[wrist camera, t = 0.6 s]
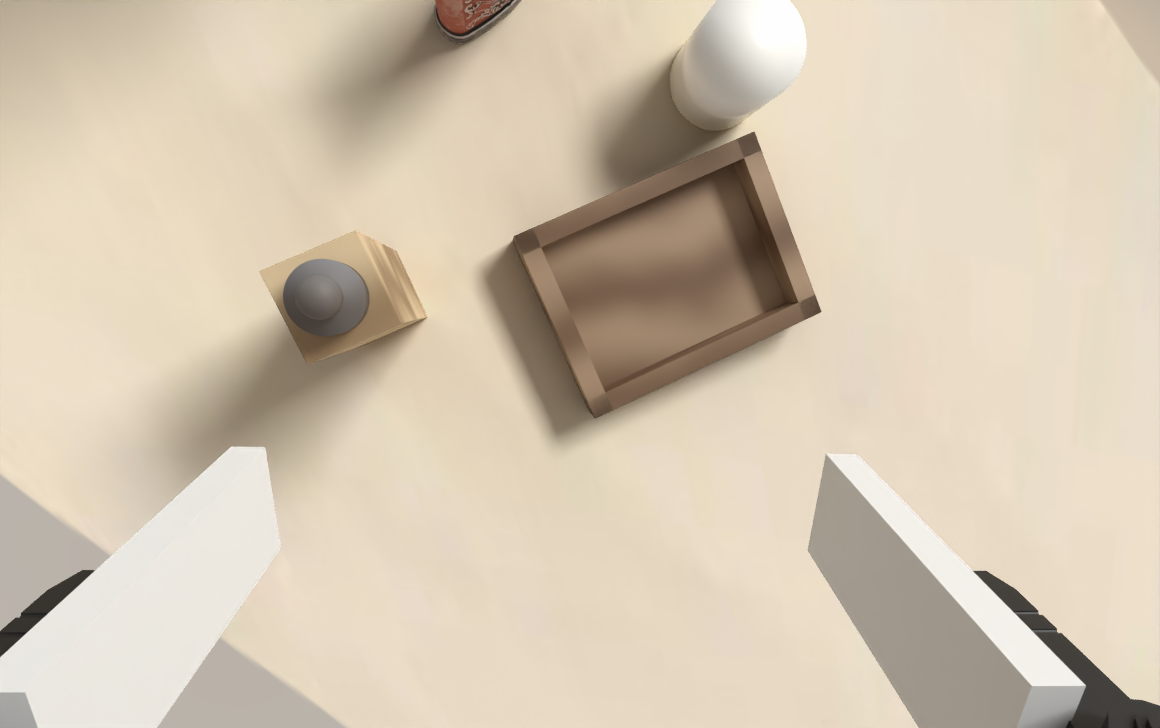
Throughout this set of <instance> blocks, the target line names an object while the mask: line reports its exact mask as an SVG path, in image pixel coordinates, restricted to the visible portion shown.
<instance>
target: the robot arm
mask: <svg viewBox="0 0 1160 728" xmlns="http://www.w3.org/2000/svg"><path fill="white" fill-rule="evenodd" d="M280 549H281V544H280V538H279V531H278V525H277V519H276V512H275V506H274V500H273V493H272V487H271V481H270V474H269V468H268V462H267V455H266V449H265V447H230V448H229V449H228V450H227V451H226V452H225V453H223V454H222V455H221V456H220V457H219V458H218V459H217V460H216V461H215V462H214V463H212V464H211V465H210V466H209V467H208V468H207V469H206V470H205V471H204V472H203V473H202V474H200V475H199V476H198V477H197V478H196V479H195V480H194V481H193V482H192V483H191V484H189V485H188V486H187V487H186V488H185V489H184V490H183V491H182V492H181V493H180V494H179V495H177V496H176V497H175V498H174V499H173V500H172V501H171V502H170V503H169V504H168V505H166V506H165V507H164V508H163V509H162V510H161V511H160V512H159V513H158V514H157V515H156V516H154V517H153V518H152V519H151V520H150V521H149V522H148V523H147V524H146V525H145V526H143V527H142V528H141V529H140V530H139V531H138V532H137V533H136V534H135V535H134V536H133V537H131V538H130V539H129V540H128V541H127V542H126V543H125V544H124V545H123V546H122V547H120V548H119V549H118V550H117V551H116V552H115V553H114V554H113V555H112V556H111V557H110V558H108V559H107V560H106V561H105V562H104V563H103V564H102V565H101V566H100V567H99V568H98V569H97V570H82V571H80V572H78V573H77V574H75V575H73V576H72V577H70V578H68V579H66V580H64V581H63V582H61V583H59V584H58V585H56V586H54V587H52V588H50V589H49V590H47V591H46V592H45V593H44V594H43V595H41V596H40V597H39V598H38V599H37V600H36V601H34V602H33V603H32V604H31V605H30V606H29V607H28V608H26V609H25V610H24V611H23V612H22V613H21V616H20V618H15V619H14V620H13V621H11V622H10V623H9V624H8V625H7V626H6V627H4V628H3V629H2V630H1V631H0V728H157V727H158V726H159V724H160V723H161V721H162V720H163V718H164V717H165V715H166V714H167V713H168V711H169V710H170V708H171V707H172V705H173V704H174V702H175V701H176V700H177V698H178V697H179V695H180V694H181V692H182V690H183V689H184V688H185V687H186V685H187V684H188V682H189V681H190V679H191V678H192V676H193V675H194V673H195V672H196V671H197V669H198V668H199V666H200V665H201V663H202V662H203V660H204V659H205V658H206V656H207V654H208V653H209V652H210V650H211V649H212V647H213V646H214V644H215V643H216V642H217V640H218V639H219V637H220V636H221V634H222V633H223V631H224V630H225V629H226V627H227V626H228V624H229V623H230V621H231V620H232V618H233V617H234V616H235V614H236V613H237V611H238V610H239V608H240V607H241V605H242V604H243V603H244V601H245V600H246V598H247V597H248V595H249V594H250V592H251V591H252V590H253V588H254V587H255V585H256V584H257V582H258V581H259V579H260V578H261V576H262V575H263V574H264V572H265V571H266V569H267V568H268V566H269V565H270V563H271V562H272V561H273V559H274V558H275V556H276V555H277V553H278V552H279V550H280ZM808 552H809V553H810V555H811V556H812V558H813V560H814V561H815V563H816V564H817V566H818V568H819V569H820V571H821V572H822V574H823V576H824V577H825V579H826V580H827V582H828V584H829V585H830V587H831V588H832V590H833V592H834V593H835V595H836V596H837V598H838V600H839V601H840V603H841V604H842V606H843V608H844V609H845V611H846V612H847V614H848V615H849V617H850V619H851V620H852V622H853V623H854V625H855V627H856V628H857V630H858V631H859V633H860V635H861V636H862V638H863V639H864V641H865V643H866V644H867V646H868V647H869V649H870V651H871V652H872V654H873V655H874V657H875V659H876V660H877V662H878V663H879V665H880V667H881V668H882V670H883V671H884V673H885V674H886V676H887V678H888V679H889V681H890V682H891V684H892V686H893V687H894V689H895V690H896V692H897V694H898V695H899V697H900V698H901V700H902V702H903V703H904V705H905V706H906V708H907V710H908V711H909V713H910V714H911V716H912V718H913V719H914V721H915V722H916V724H917V726H918V727H919V728H1160V706H1159V705H1156V704H1152V703H1149V702H1146V701H1143V700H1133V699H1130V698H1129V697H1128V696H1127V695H1126V694H1125V693H1123V692H1122V691H1121V690H1120V689H1119V688H1118V687H1117V686H1116V685H1115V684H1114V683H1113V682H1112V681H1111V680H1110V679H1109V678H1108V677H1107V676H1106V675H1105V674H1104V673H1103V672H1102V671H1100V670H1099V669H1098V668H1097V667H1096V666H1095V665H1094V664H1093V663H1092V662H1091V661H1090V660H1089V659H1088V658H1087V657H1086V656H1085V655H1084V654H1083V653H1082V652H1081V651H1080V650H1079V649H1078V648H1076V647H1075V646H1074V645H1073V644H1072V643H1071V642H1070V641H1069V640H1068V639H1067V638H1066V637H1065V636H1064V635H1063V634H1062V633H1058V632H1057V628H1056V627H1055V626H1053V625H1052V624H1051V623H1050V622H1049V621H1048V620H1047V619H1046V618H1045V617H1044V616H1043V615H1039V614H1038V610H1037V609H1036V608H1035V607H1034V606H1033V605H1032V604H1031V603H1029V602H1028V601H1027V600H1026V599H1025V598H1024V597H1023V596H1022V595H1021V594H1020V593H1019V592H1018V591H1017V590H1016V589H1014V588H1013V587H1011V586H1010V585H1008V584H1006V583H1005V582H1003V581H1001V580H1000V579H998V578H997V577H995V576H993V575H992V574H990V573H989V572H987V571H972V570H971V569H970V568H969V567H968V566H967V565H966V564H965V563H964V562H963V561H962V560H961V559H960V558H959V557H958V556H957V555H956V554H955V553H954V552H953V551H952V550H951V549H950V547H949V546H948V545H947V544H946V543H945V542H944V541H943V540H942V539H941V538H940V537H939V536H938V535H937V534H936V533H935V532H934V531H933V530H932V529H931V528H930V527H929V526H928V525H927V524H926V523H925V522H924V521H923V520H922V519H921V518H920V517H919V516H918V515H917V514H916V513H915V512H914V511H913V510H912V509H911V508H910V507H909V506H908V505H907V504H906V503H905V502H904V501H903V500H902V499H901V498H900V497H899V496H898V495H897V494H896V493H895V492H894V491H893V490H892V489H891V488H890V487H889V486H888V485H887V484H886V483H885V482H884V481H883V480H882V479H881V478H880V477H879V476H878V475H877V474H876V473H875V472H874V471H873V470H872V469H871V468H870V467H869V466H868V465H867V463H866V462H865V461H864V460H863V459H862V458H861V457H860V456H859V455H858V454H826V456H825V462H824V467H823V472H822V478H821V483H820V488H819V493H818V499H817V504H816V509H815V514H814V520H813V525H812V530H811V536H810V541H809V546H808Z"/></svg>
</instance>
